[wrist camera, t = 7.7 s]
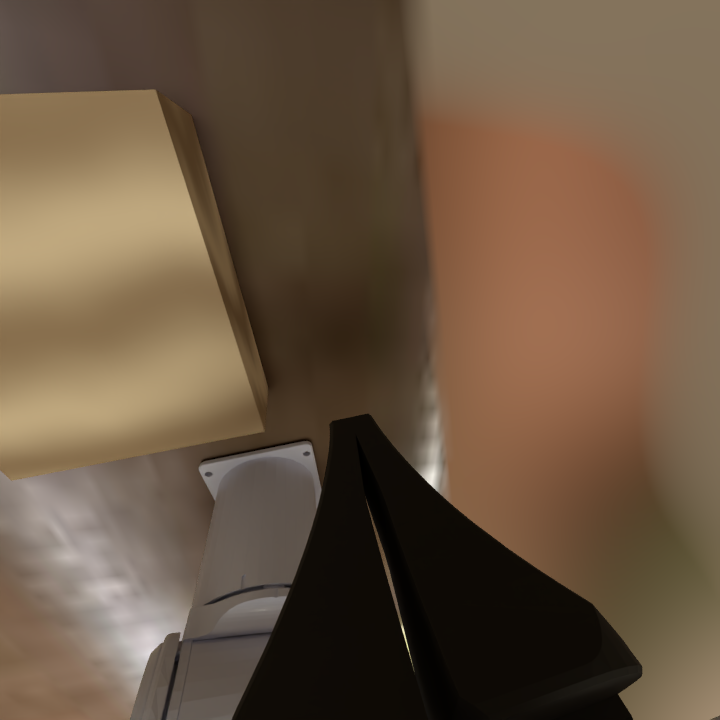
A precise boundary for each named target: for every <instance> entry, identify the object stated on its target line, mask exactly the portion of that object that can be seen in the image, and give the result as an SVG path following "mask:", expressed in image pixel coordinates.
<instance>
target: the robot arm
mask: <svg viewBox="0 0 720 720" xmlns="http://www.w3.org/2000/svg"><path fill="white" fill-rule="evenodd" d="M329 425H330V444H329V453H328V460H327V466H326V472H325V477H324V482H323V486H322V489H321V485H320V480H319V475H318V471H317V466H316V461H315V456H314V452H313V447H312V444H311V442H309V441H302V442H297V443H292V444H287V445H282V446H277V447H272V448H267V449H262V450H258V451H253V452H248V453H243V454H238V455H233V456H228V457H223V458H218V459H213V460H208V461H204V462H202V463H201V464H200V466H199V472H200V474H201V476H202V477H203V479H204V481H205V483H206V485H207V487H208V489H209V491H210V493H211V494H212V496H213V498H214V500H215V505H214V509H213V514H212V518H211V522H210V527H209V531H208V536H207V540H206V545H205V549H204V554H203V558H202V563H201V567H200V572H199V576H198V581H197V585H196V590H195V594H194V599H193V603H192V608H191V609H190V612H189V616H188V620H187V624H186V627H185V631H184V635H183V639H182V641H179V638H180V633H171V634H168V635H167V636H166V638H165V640H164V643H161V644H160V645H159V646H158V647H157V648H156V649H155V650H154V651H153V652H152V653H151V655H150V657H149V660H148V663H147V665H146V668H145V672H144V675H143V678H142V681H141V684H140V688H139V691H138V694H137V697H136V701H135V704H134V707H133V711H132V714H131V718H130V720H633V718H632V716H631V714H630V713H629V711H628V709H627V708H626V706H625V705H624V703H623V702H622V700H621V699H620V697H619V695H618V693H620V692H621V691H623V690H624V689H626V688H627V687H628V686H630V685H631V684H633V683H634V682H635V681H637V680H638V679H639V678H640V677H641V676H642V666H641V664H640V663H639V661H638V660H637V659H636V657H635V656H634V655H633V653H632V652H631V651H630V649H629V648H628V646H627V645H626V644H625V642H624V641H623V640H622V638H621V637H620V636H619V635H618V634H617V632H616V631H615V630H614V629H613V628H612V626H611V625H610V624H609V623H608V622H607V620H606V619H605V618H604V617H603V616H602V615H601V614H600V613H599V611H598V610H597V609H596V608H595V607H594V605H593V604H592V603H590V602H589V601H587V600H586V599H584V598H582V597H581V596H579V595H578V594H576V593H574V592H572V591H571V590H569V589H568V588H566V587H565V586H563V585H561V584H560V583H558V582H557V581H555V580H554V579H552V578H551V577H549V576H548V575H546V574H545V573H543V572H541V571H540V570H538V569H537V568H535V567H534V566H532V565H531V564H530V563H528V562H527V561H525V560H524V559H522V558H521V557H519V556H518V555H516V554H515V553H513V552H512V551H511V550H509V549H508V548H506V547H505V546H504V545H502V544H501V543H500V542H498V541H497V540H496V539H494V538H493V537H492V536H491V535H489V534H488V533H487V532H485V531H484V530H483V529H481V528H480V527H478V526H477V525H476V524H475V523H473V522H472V521H471V520H469V519H468V518H467V517H466V516H464V514H462V513H461V512H460V511H459V510H458V509H456V508H455V507H454V506H453V505H452V504H450V503H449V502H448V501H447V500H446V499H445V498H444V497H443V496H441V495H440V494H439V493H438V492H437V491H436V490H435V489H434V488H433V487H432V486H431V485H430V484H429V483H428V482H427V481H426V480H425V479H424V478H423V477H422V476H421V475H420V474H419V473H418V472H417V471H416V470H415V469H414V468H413V467H412V466H411V465H410V464H409V463H408V462H407V461H406V460H405V459H404V457H403V456H402V455H401V454H400V453H399V452H398V451H397V449H396V448H395V447H394V446H393V445H392V444H391V442H390V441H389V440H388V439H387V437H386V436H385V435H384V433H383V432H382V431H381V429H380V428H379V427H378V425H377V424H376V422H375V421H374V419H373V418H372V416H371V415H369V414H364V415H359V416H355V417H350V418H345V419H340V420H336V421H332V422H331V423H330V424H329ZM306 451H308V452H306ZM365 496H366V498H365ZM366 499H367V502H368V505H369V508H370V511H371V514H372V517H373V520H374V523H375V526H376V529H377V532H378V535H379V538H380V541H381V544H382V547H383V550H384V553H385V556H386V560H387V563H388V566H389V570H390V574H391V578H392V582H393V586H394V590H395V594H396V598H397V602H398V606H399V610H400V614H401V618H402V622H403V627H404V631H405V635H406V639H407V643H408V647H409V651H410V655H411V659H412V663H411V659H410V656H409V652H408V649H407V645H406V642H405V639H404V635H403V632H402V628H401V625H400V622H399V618H398V615H397V611H396V608H395V604H394V601H393V597H392V593H391V590H390V586H389V583H388V579H387V576H386V572H385V569H384V565H383V561H382V558H381V554H380V551H379V547H378V543H377V540H376V536H375V532H374V529H373V525H372V521H371V517H370V514H369V510H368V506H367V503H366ZM412 664H413V666H412ZM413 668H414V669H413ZM414 672H415V673H414ZM711 720H720V716H718V717H715V718H713V719H711Z"/></svg>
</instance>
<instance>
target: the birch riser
mask: <svg viewBox="0 0 720 720" xmlns="http://www.w3.org/2000/svg"><path fill="white" fill-rule="evenodd" d="M267 400H268V385H267V382H266V378H265V374H264V371H263V367H262V364H261V360H260V357H259V353H258V350H257V346H256V343H255V339H254V335H253V332H252V328H251V325H250V321H249V318H248V314H247V311H246V307H245V303H244V300H243V296H242V293H241V289H240V286H239V282H238V279H237V275H236V272H235V268H234V264H233V261H232V257H231V254H230V250H229V247H228V243H227V240H226V236H225V232H224V229H223V225H222V222H221V218H220V215H219V211H218V208H217V204H216V201H215V197H214V193H213V190H212V186H211V183H210V179H209V176H208V172H207V169H206V165H205V161H204V158H203V154H202V151H201V147H200V144H199V140H198V137H197V133H196V129H195V126H194V122H193V119H192V115H191V114H189V113H188V112H186V111H185V110H184V109H182V108H181V107H179V106H178V105H176V104H175V103H174V102H172V101H171V100H169V99H168V98H167V97H165V96H164V95H162V94H161V93H160V92H158V91H157V90H127V91H95V92H63V93H32V94H0V470H1V471H2V472H3V473H4V474H5V475H6V476H7V477H8V478H9V479H10V480H11V481H12V480H17V479H22V478H27V477H32V476H38V475H43V474H48V473H53V472H58V471H63V470H69V469H74V468H79V467H84V466H89V465H94V464H100V463H105V462H110V461H115V460H120V459H125V458H131V457H136V456H141V455H146V454H151V453H156V452H162V451H167V450H172V449H177V448H182V447H187V446H193V445H198V444H203V443H208V442H213V441H218V440H224V439H229V438H234V437H239V436H244V435H249V434H255V433H260V432H265V423H266V412H267Z"/></svg>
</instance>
